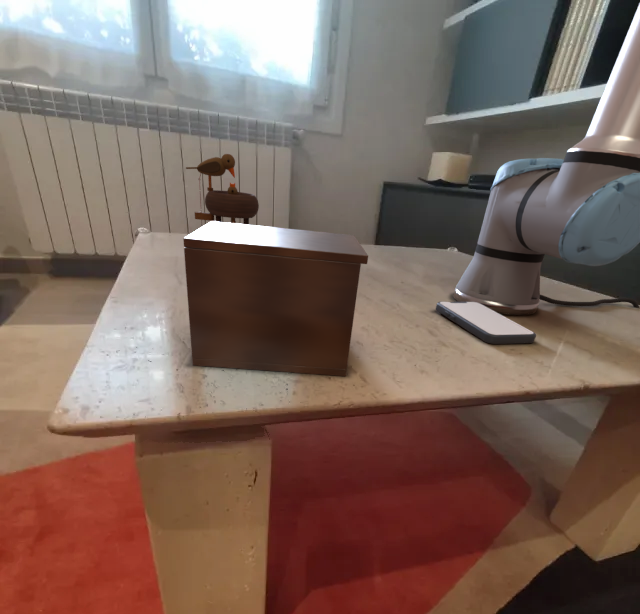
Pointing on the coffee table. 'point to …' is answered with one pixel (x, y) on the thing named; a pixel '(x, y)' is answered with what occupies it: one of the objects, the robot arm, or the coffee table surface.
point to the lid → (277, 242)
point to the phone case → (485, 323)
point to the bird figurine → (225, 194)
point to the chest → (270, 311)
